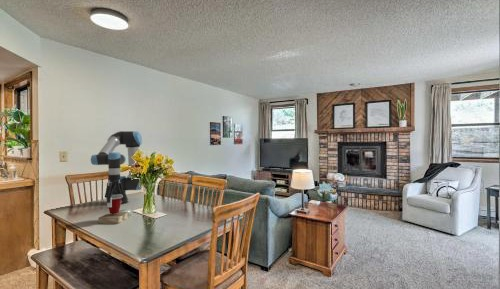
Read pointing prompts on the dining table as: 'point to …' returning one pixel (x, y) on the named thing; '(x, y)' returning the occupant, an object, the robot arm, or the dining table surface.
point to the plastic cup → (115, 204)
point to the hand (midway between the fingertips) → (114, 205)
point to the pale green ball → (126, 211)
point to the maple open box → (113, 218)
